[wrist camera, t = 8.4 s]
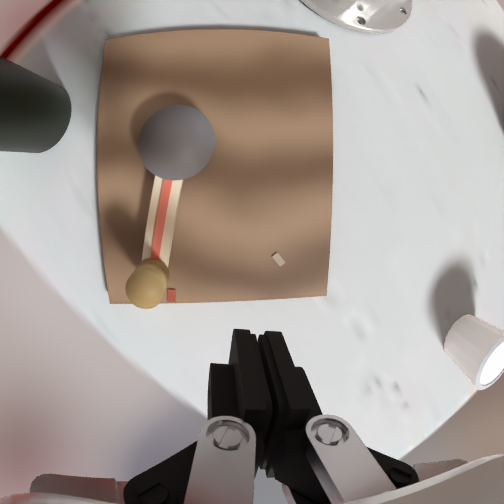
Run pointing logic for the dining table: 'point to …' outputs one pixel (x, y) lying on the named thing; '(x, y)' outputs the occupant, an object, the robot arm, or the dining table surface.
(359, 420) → the dining table surface
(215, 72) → the brown cloth
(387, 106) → the dining table surface
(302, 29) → the dining table surface
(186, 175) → the multicoloured piece
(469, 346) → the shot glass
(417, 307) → the dining table surface
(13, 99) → the wine bottle
